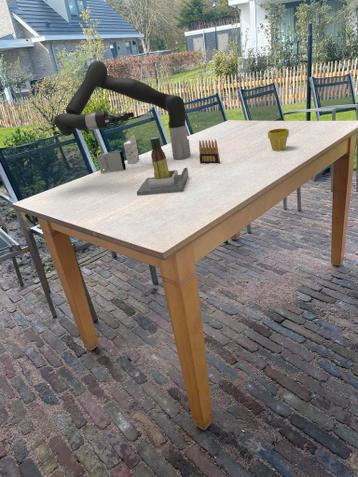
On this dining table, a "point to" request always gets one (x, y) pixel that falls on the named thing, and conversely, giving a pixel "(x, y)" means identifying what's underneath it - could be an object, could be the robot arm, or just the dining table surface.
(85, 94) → the robot arm
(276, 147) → the plant pot
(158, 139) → the sauce bottle
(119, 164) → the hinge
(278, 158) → the dining table surface
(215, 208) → the dining table surface
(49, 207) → the dining table surface
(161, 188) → the plate
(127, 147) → the ink cartridge box
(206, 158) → the ammunition clip
